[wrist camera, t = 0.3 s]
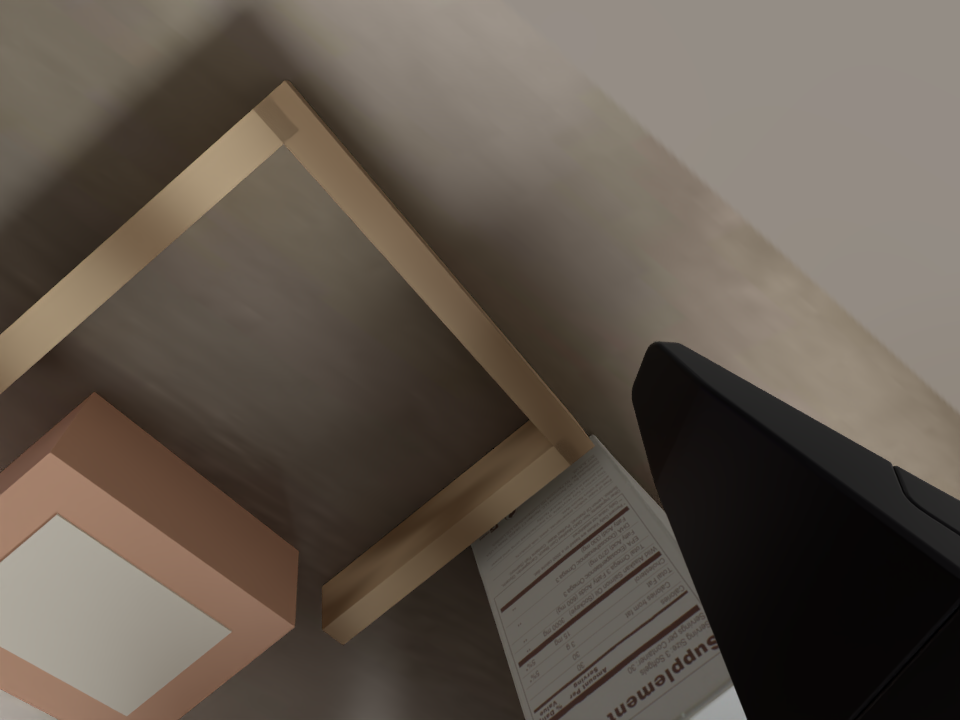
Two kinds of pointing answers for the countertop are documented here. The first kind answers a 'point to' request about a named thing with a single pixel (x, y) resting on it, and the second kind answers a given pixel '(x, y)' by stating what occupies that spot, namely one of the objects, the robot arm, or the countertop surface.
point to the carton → (129, 575)
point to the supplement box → (601, 604)
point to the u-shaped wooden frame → (295, 124)
